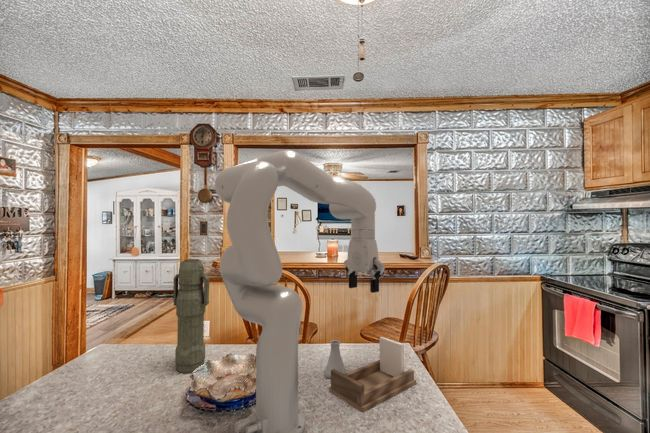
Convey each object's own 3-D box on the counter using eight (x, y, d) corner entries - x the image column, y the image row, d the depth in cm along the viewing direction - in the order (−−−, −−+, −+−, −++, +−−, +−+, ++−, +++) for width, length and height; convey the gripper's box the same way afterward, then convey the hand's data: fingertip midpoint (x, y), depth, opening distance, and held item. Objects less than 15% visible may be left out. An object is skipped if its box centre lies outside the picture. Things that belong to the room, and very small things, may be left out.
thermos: (203, 374, 97) (204, 261, 99) (165, 374, 97) (167, 261, 99) (213, 362, 106) (214, 258, 107) (179, 362, 106) (180, 258, 108)
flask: (345, 381, 92) (345, 346, 92) (321, 379, 93) (321, 345, 94) (348, 370, 99) (348, 338, 99) (326, 368, 100) (326, 337, 101)
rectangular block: (401, 380, 89) (401, 345, 90) (379, 370, 96) (379, 337, 96) (404, 379, 90) (403, 344, 91) (382, 369, 96) (381, 336, 97)
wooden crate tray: (363, 412, 76) (363, 387, 76) (329, 391, 86) (328, 369, 86) (416, 383, 90) (416, 362, 90) (381, 368, 100) (381, 349, 100)
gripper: (336, 235, 104) (336, 287, 103) (374, 235, 90) (375, 295, 89) (353, 235, 108) (353, 285, 108) (391, 235, 95) (392, 292, 94)
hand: (363, 289), depth 98 cm, fingers open, 9 cm apart
